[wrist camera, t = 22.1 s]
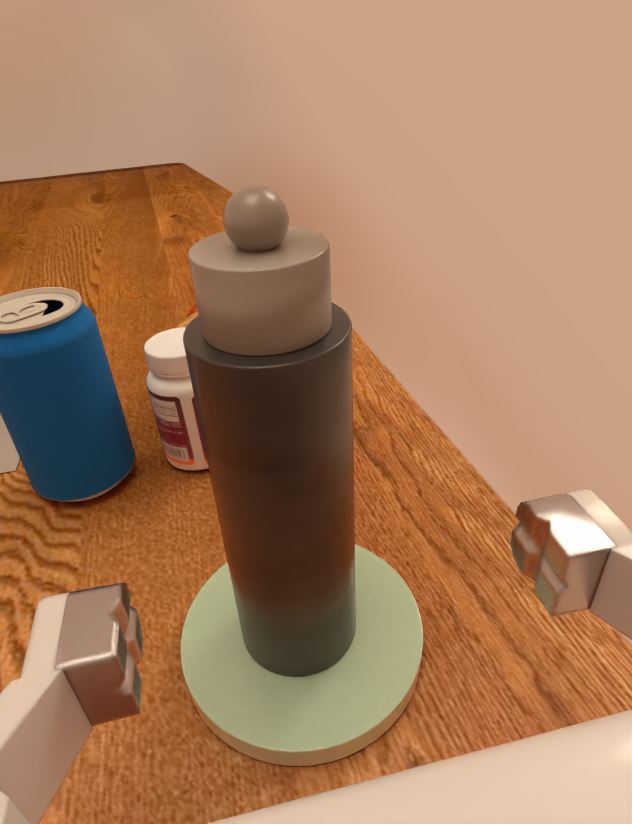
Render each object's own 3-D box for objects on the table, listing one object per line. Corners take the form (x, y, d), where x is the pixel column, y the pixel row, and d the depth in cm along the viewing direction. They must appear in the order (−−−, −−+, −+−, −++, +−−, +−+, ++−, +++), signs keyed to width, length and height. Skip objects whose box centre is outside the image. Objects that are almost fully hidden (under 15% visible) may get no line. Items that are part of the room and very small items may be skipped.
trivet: (370, 820, 20) (370, 806, 20) (133, 697, 25) (127, 682, 24) (449, 590, 28) (451, 574, 28) (261, 527, 33) (259, 512, 32)
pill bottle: (230, 424, 41) (212, 319, 36) (239, 464, 37) (221, 352, 32) (164, 436, 40) (137, 330, 36) (166, 479, 36) (136, 366, 32)
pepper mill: (326, 697, 23) (292, 220, 12) (220, 649, 25) (111, 204, 14) (372, 599, 27) (378, 169, 16) (277, 564, 29) (225, 162, 18)
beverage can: (157, 471, 37) (110, 301, 30) (64, 526, 33) (-12, 346, 27) (106, 434, 41) (56, 276, 34) (18, 479, 37) (-58, 311, 30)
